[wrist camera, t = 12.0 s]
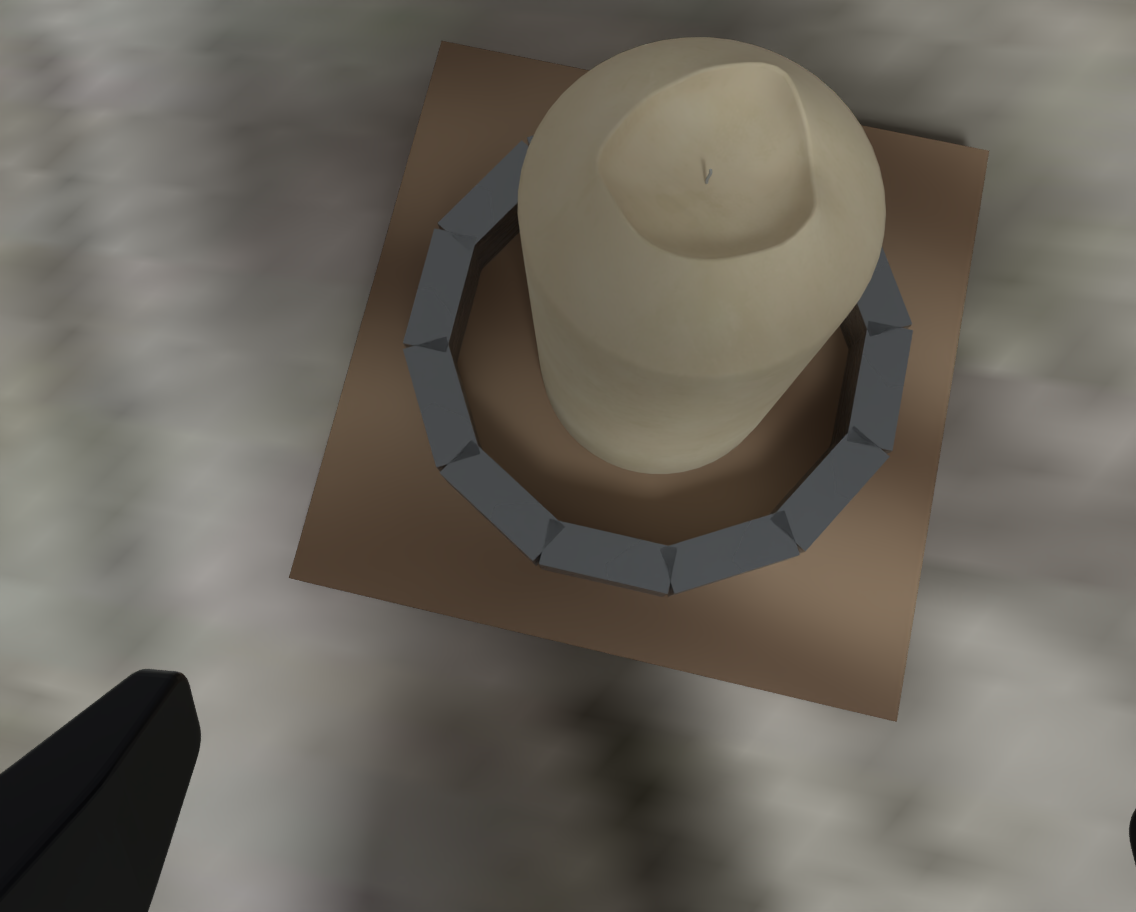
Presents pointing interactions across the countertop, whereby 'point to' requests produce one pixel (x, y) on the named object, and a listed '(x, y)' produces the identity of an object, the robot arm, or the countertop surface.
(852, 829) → the countertop surface
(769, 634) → the dock
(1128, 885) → the countertop surface
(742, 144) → the candle
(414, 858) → the countertop surface
